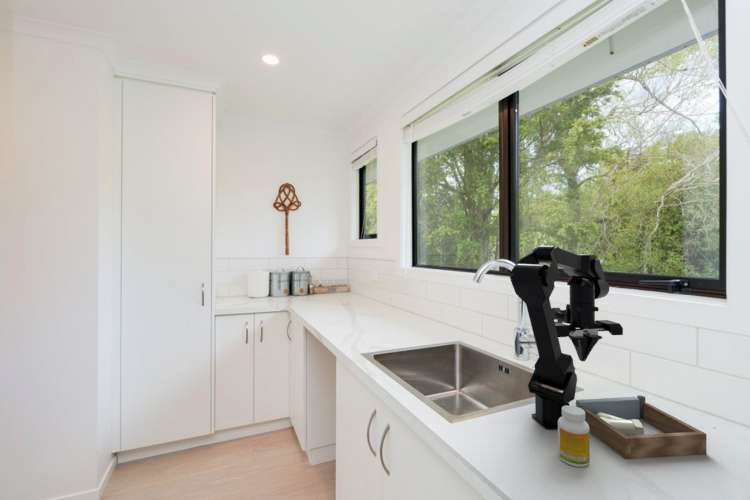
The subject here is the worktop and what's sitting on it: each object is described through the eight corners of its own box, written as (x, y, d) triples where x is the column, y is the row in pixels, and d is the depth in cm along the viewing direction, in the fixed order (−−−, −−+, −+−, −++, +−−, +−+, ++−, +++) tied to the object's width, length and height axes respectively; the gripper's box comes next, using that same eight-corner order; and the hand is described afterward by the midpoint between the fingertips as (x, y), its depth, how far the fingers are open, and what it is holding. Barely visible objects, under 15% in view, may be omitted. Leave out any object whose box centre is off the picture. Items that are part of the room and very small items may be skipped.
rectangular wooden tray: (625, 459, 68) (625, 433, 68) (573, 419, 84) (573, 398, 84) (707, 453, 70) (707, 428, 70) (641, 415, 85) (641, 395, 85)
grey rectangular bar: (580, 421, 82) (580, 402, 82) (576, 418, 84) (576, 399, 84) (639, 418, 84) (639, 399, 83) (634, 415, 85) (634, 396, 85)
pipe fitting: (589, 425, 82) (603, 438, 76) (588, 408, 83) (602, 420, 76) (627, 427, 81) (644, 441, 74) (626, 410, 81) (643, 422, 75)
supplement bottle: (594, 469, 65) (594, 417, 65) (563, 466, 66) (562, 415, 66) (583, 452, 71) (583, 404, 70) (554, 449, 72) (554, 402, 71)
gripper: (594, 296, 101) (594, 350, 101) (531, 298, 100) (532, 352, 100) (624, 302, 90) (624, 363, 90) (555, 304, 89) (555, 366, 89)
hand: (582, 360), depth 93 cm, fingers closed
